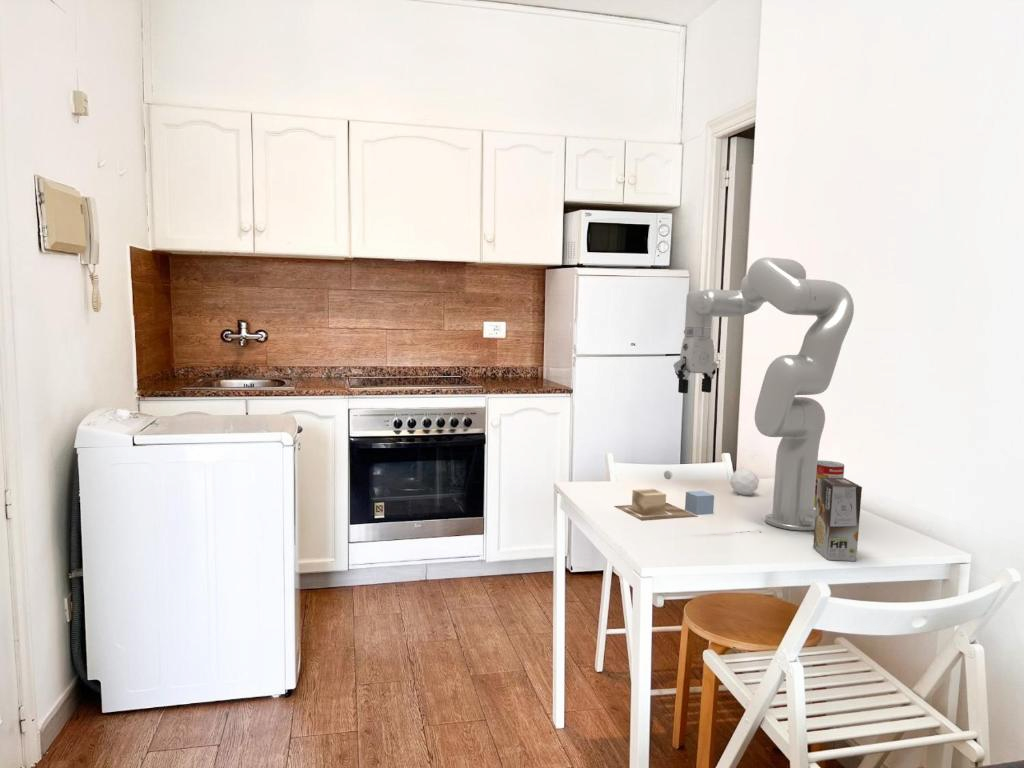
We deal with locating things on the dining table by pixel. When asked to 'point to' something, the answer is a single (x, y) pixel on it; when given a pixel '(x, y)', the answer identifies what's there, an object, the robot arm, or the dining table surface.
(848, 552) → the coffee box
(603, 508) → the dining table surface
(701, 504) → the slate block
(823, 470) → the canned food
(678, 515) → the plate
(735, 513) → the dining table surface
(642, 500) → the oak block
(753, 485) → the geometric ball
